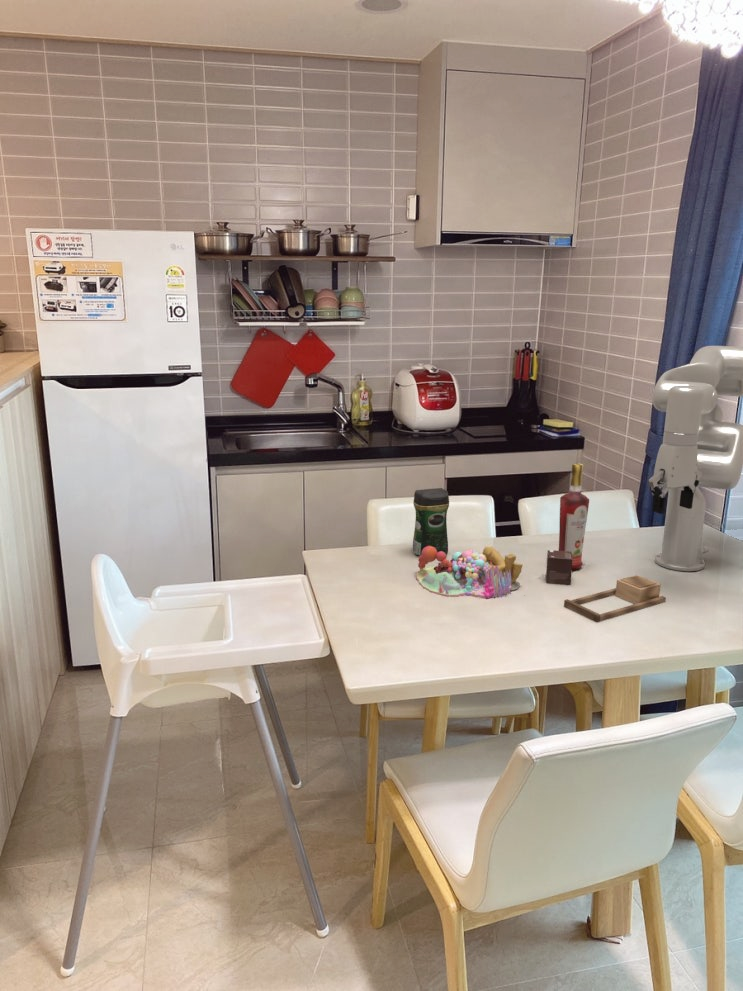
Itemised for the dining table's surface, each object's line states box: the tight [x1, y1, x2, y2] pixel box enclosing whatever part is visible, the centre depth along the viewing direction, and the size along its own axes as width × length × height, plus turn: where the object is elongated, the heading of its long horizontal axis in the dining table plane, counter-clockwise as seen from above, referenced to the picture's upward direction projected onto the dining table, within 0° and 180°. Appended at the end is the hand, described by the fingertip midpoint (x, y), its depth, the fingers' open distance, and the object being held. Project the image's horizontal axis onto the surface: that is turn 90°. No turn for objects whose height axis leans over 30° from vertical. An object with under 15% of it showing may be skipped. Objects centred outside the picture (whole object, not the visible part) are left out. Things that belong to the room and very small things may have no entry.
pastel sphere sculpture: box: [415, 546, 523, 599], centre depth 192 cm, size 25×24×9 cm
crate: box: [614, 574, 661, 605], centre depth 182 cm, size 7×7×4 cm
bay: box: [563, 587, 667, 623], centre depth 179 cm, size 23×10×2 cm, turn 121°
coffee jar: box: [412, 487, 450, 557], centre depth 210 cm, size 10×8×19 cm
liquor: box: [558, 462, 590, 571], centre depth 200 cm, size 7×7×28 cm
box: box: [545, 549, 573, 586], centre depth 193 cm, size 6×6×7 cm
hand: (671, 509), depth 183 cm, fingers open, 9 cm apart
